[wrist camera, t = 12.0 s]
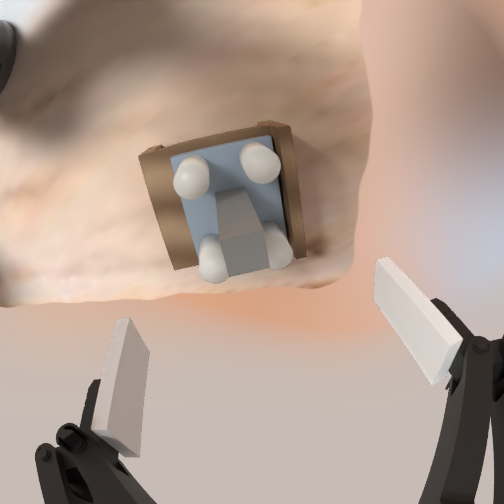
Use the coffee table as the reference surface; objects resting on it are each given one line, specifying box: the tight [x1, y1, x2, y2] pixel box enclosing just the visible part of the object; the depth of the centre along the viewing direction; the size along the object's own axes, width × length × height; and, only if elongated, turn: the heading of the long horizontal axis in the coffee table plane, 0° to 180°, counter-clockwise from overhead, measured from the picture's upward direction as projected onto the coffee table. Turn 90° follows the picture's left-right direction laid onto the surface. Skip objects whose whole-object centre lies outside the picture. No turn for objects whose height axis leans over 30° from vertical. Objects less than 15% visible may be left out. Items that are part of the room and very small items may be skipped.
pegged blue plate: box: [170, 135, 293, 283], centre depth 26 cm, size 12×10×12 cm
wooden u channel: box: [138, 121, 307, 270], centre depth 32 cm, size 14×15×10 cm
